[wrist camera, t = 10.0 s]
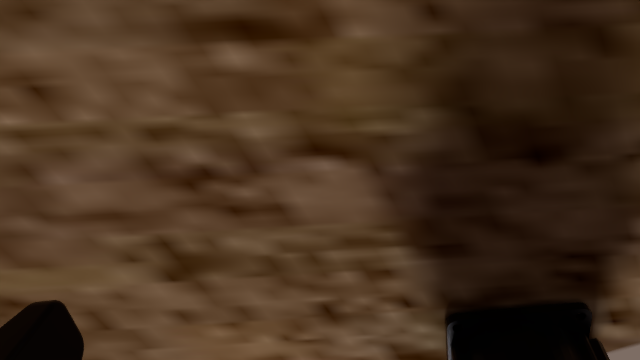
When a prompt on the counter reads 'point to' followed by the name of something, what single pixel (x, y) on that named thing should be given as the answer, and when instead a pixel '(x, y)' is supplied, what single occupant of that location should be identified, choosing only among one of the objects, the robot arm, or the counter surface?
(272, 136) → the counter surface
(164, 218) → the counter surface
